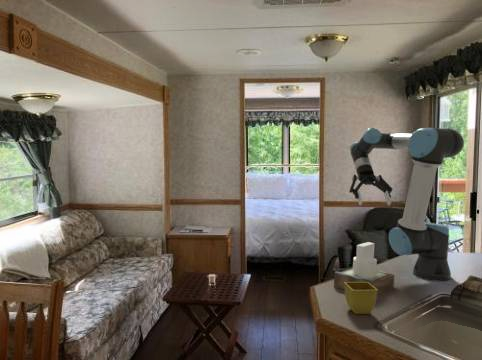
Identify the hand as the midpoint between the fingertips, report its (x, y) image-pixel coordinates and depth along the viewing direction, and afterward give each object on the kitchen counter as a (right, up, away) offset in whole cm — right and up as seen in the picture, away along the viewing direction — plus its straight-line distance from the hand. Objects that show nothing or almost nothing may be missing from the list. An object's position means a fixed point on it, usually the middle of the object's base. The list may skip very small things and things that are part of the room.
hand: (375, 203), depth 192 cm
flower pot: (-21, -34, -49) cm, 63 cm away
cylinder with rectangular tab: (-12, -27, -24) cm, 38 cm away
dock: (-12, -32, -23) cm, 41 cm away
